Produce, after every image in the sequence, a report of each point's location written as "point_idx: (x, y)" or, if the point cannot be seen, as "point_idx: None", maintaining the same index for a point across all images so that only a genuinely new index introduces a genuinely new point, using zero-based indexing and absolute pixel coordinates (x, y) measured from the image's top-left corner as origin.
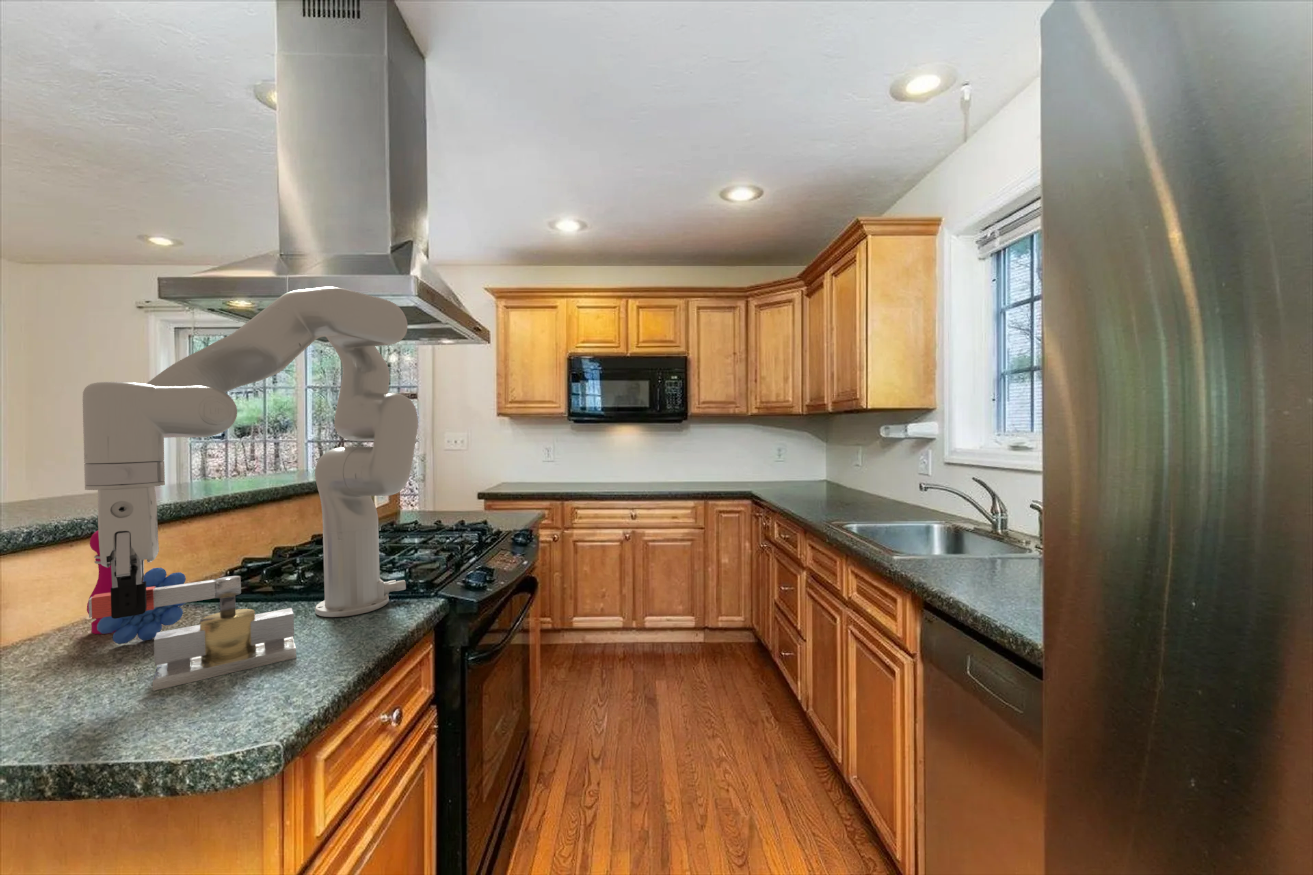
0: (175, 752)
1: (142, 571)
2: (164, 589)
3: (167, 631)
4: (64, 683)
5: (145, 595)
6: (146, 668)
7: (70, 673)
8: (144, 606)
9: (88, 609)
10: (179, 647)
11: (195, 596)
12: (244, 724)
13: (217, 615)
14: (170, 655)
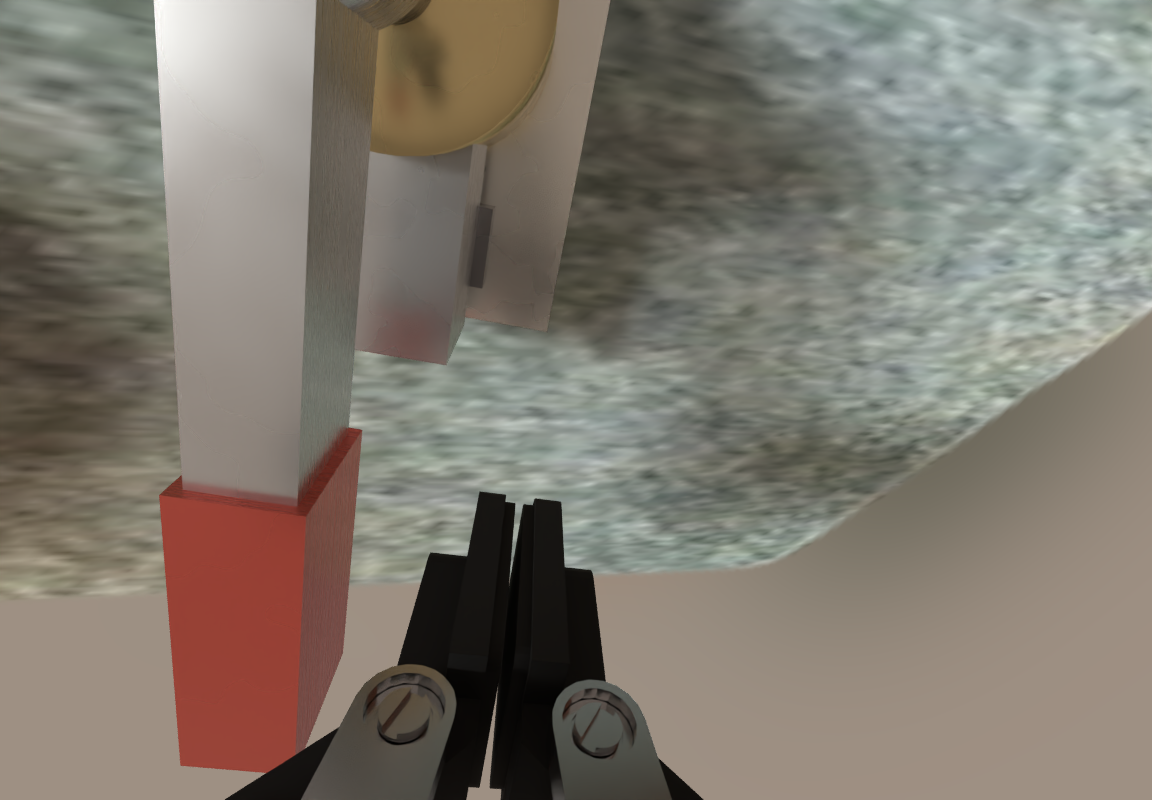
0: (1084, 329)
1: (428, 780)
2: (300, 437)
3: None
4: None
5: (536, 571)
6: None
7: (119, 489)
8: (561, 526)
9: None
10: (466, 254)
11: (352, 191)
12: (1126, 155)
13: None
14: (466, 282)
